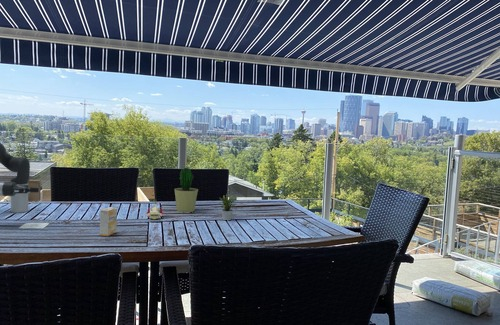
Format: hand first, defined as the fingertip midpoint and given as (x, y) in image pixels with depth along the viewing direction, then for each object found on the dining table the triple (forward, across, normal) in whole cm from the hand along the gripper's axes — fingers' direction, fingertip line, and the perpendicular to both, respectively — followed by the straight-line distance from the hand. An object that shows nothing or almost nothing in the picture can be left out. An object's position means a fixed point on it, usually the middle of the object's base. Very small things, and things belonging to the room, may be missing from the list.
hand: (39, 189), depth 204 cm
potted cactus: (+78, +37, +20) cm, 89 cm away
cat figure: (+59, +24, +20) cm, 66 cm away
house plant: (+102, +10, +20) cm, 105 cm away
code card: (-3, 0, +20) cm, 20 cm away
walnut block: (-3, 0, +6) cm, 7 cm away
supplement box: (+37, -18, +20) cm, 46 cm away
